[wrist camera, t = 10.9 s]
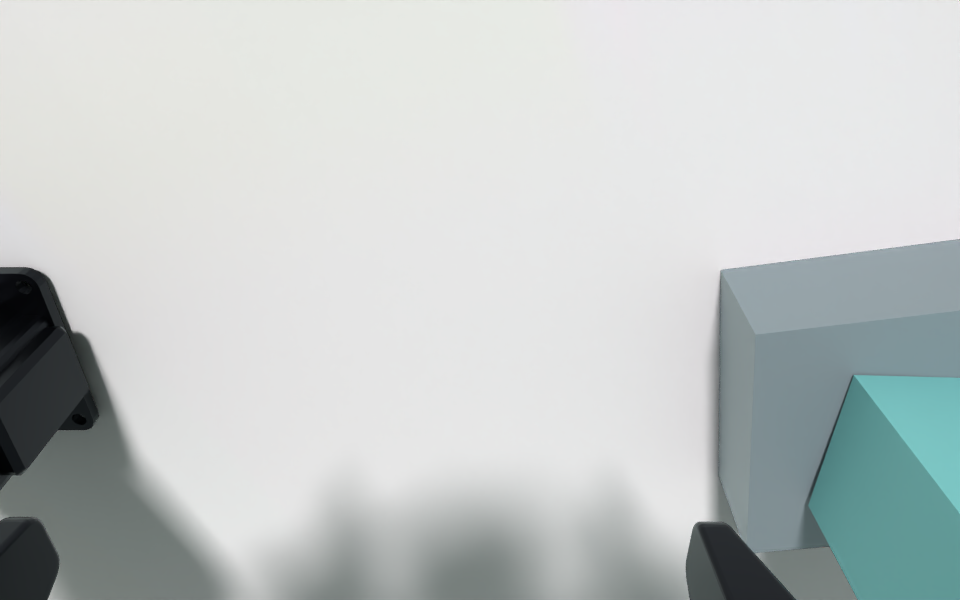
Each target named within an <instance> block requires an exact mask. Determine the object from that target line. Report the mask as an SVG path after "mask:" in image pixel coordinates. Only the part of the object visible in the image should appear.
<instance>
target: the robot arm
mask: <svg viewBox="0 0 960 600" xmlns="http://www.w3.org/2000/svg"><path fill="white" fill-rule="evenodd" d="M23 281H26V282H27V283H29V284H30V285H31V287H29V286H27V285H26V284H25V283H24V282H23ZM81 415H82V416H81ZM83 416H84V417H83ZM98 417H99V413H98V410H97V407H96V405H95V402H94V400H93V397H92V395H91V392H90V390H89V386H88V384H87V381H86V379H85V376H84V374H83V371H82V369H81V366H80V363H79V361H78V358H77V356H76V353H75V351H74V348H73V346H72V343H71V341H70V338H69V336H68V333H67V332H66V329H65V327H64V324H63V322H62V319H61V317H60V314H59V312H58V309H57V307H56V304H55V302H54V299H53V297H52V294H51V292H50V289H49V287H48V284H47V282H46V280H45V278H44V277H43V275H42V274H40V273H39V272H38V271H36V270H34V269H32V268H26V267H0V490H1V489H2V487H3V486H4V485H5V484H6V482H7V481H8V480H9V479H10V477H11V476H12V475H22V474H23V473H24V472H25V471H26V470H27V468H28V467H29V466H30V465H31V463H32V462H33V461H34V460H35V458H36V457H37V456H38V454H39V453H40V452H41V451H42V449H43V448H44V447H45V446H46V444H47V443H48V442H49V440H50V439H51V438H52V437H53V435H54V434H55V433H56V431H57V430H87V429H90V428H91V427H92V426H93V425H94V424H95V422H96V421H97V419H98ZM58 569H59V555H58V553H57V551H56V549H55V547H54V545H53V543H52V541H51V539H50V537H49V535H48V533H47V531H46V529H45V527H44V525H43V523H42V522H41V521H40V520H39V519H37V518H35V517H9V518H5V519H3V520H1V521H0V600H48V598H49V595H50V592H51V590H52V587H53V584H54V582H55V579H56V576H57V573H58ZM686 578H687V585H688V591H689V597H690V600H796V599H795V598H794V597H793V596H792V595H791V594H790V592H789V591H788V590H787V589H786V588H785V587H784V586H783V585H782V584H781V582H780V581H779V580H778V579H777V578H776V577H775V576H774V575H773V573H772V572H771V571H770V570H769V569H768V568H767V567H766V566H765V565H764V563H763V562H762V561H761V560H760V559H759V558H758V557H757V556H756V555H755V553H754V552H753V551H752V550H751V549H750V548H749V547H748V546H747V545H746V543H745V542H744V541H743V540H742V539H741V538H740V537H739V536H738V534H737V533H736V532H735V531H734V530H733V529H732V528H731V527H730V526H729V525H728V524H726V523H724V522H697V523H696V524H695V525H694V527H693V530H692V535H691V540H690V545H689V549H688V554H687V559H686Z"/></svg>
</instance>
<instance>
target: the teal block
mask: <svg viewBox="0 0 960 600" xmlns="http://www.w3.org/2000/svg"><path fill="white" fill-rule="evenodd" d="M808 506H809V508H810V510H811V512H812V514H813V516H814V517H815V519H816V521H817V523H818V525H819V527H820V529H821V531H822V533H823V535H824V536H825V538H826V540H827V542H828V544H829V546H830V548H831V550H832V552H833V554H834V555H835V557H836V559H837V561H838V563H839V565H840V567H841V569H842V571H843V573H844V574H845V576H846V578H847V580H848V582H849V584H850V586H851V588H852V590H853V592H854V593H855V595H856V597H857V599H858V600H960V378H952V377H913V376H874V375H853V378H852V381H851V384H850V387H849V390H848V393H847V396H846V398H845V401H844V404H843V407H842V410H841V413H840V416H839V418H838V421H837V424H836V427H835V430H834V433H833V436H832V439H831V441H830V444H829V447H828V450H827V453H826V456H825V459H824V461H823V464H822V467H821V470H820V473H819V476H818V479H817V482H816V484H815V487H814V490H813V493H812V496H811V499H810V502H809V505H808Z"/></svg>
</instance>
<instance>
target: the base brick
mask: <svg viewBox="0 0 960 600" xmlns="http://www.w3.org/2000/svg"><path fill="white" fill-rule="evenodd" d="M853 375H874V376H913V377H952V378H960V239H957V240H949V241H941V242H934V243H926V244H918V245H911V246H903V247H895V248H887V249H880V250H872V251H864V252H856V253H849V254H841V255H833V256H826V257H818V258H810V259H802V260H795V261H787V262H779V263H771V264H764V265H756V266H748V267H740V268H733V269H725V270H721V297H720V385H719V472H718V475H719V478H720V480H721V483H722V486H723V489H724V492H725V495H726V497H727V500H728V503H729V506H730V509H731V512H732V514H733V517H734V520H735V523H736V526H737V529H738V531H739V534H740V537H741V539H742V540H743V541H744V542H745V543H746V545H747V546H748V547H749V548H750V549H751V550H752V551H753V552H754V553H759V552H771V551H783V550H794V549H806V548H818V547H830V546H829V544H828V542H827V540H826V538H825V536H824V535H823V533H822V531H821V529H820V527H819V525H818V523H817V521H816V519H815V517H814V516H813V514H812V512H811V510H810V508H809V506H808V505H809V502H810V499H811V496H812V493H813V490H814V487H815V484H816V482H817V479H818V476H819V473H820V470H821V467H822V464H823V461H824V459H825V456H826V453H827V450H828V447H829V444H830V441H831V439H832V436H833V433H834V430H835V427H836V424H837V421H838V418H839V416H840V413H841V410H842V407H843V404H844V401H845V398H846V396H847V393H848V390H849V387H850V384H851V381H852V378H853Z"/></svg>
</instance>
